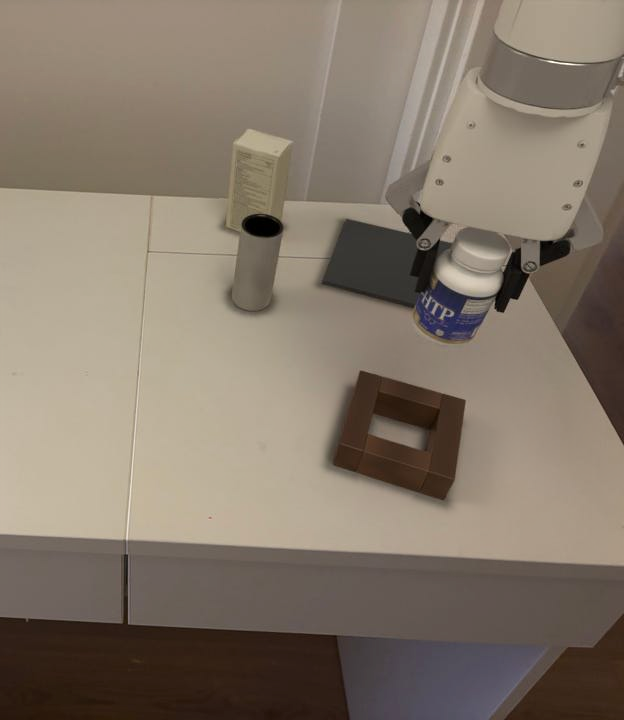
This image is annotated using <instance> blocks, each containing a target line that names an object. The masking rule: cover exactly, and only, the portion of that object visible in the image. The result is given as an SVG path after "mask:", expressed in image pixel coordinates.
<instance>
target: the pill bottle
mask: <svg viewBox="0 0 624 720" xmlns="http://www.w3.org/2000/svg"><path fill="white" fill-rule="evenodd" d="M451 243H452V246H451V247H450V249H448V250H445V251H444V252H442V253H441V254H440V255H439V256H438V257H437V258H436V260H435V262H434V265H433V268H432V271H431V274H430V277H429V280H428V283H427V286H426V288H425V291H424V292H421V294H420V296H419V298H418V301H417V303H416V305H415V308H413V310H412V312H411V318H410V319H411V324H412V326H413V328H414V330H415V331H416V332H417V334H419V335H420V337H422V338H423V339H425V340H427V341H428V342H430V343H432V344H434V345H437V346H440V347H443V348H444V347H445V348H460V347H464V346H466V345H468V344H470V343H471V342H472V341H473V340H474V338H475V337H476V335H477V334H478V331H479V329H480V328H481V325H482V324H483V322H484V320H485V319H486V316H487V315H488V313H489V311H490V309H491V308H492V305H493V304H494V303H495V298H496V296H497V294H498V293H499V291H500V289H501V287H502V284H503V281H504V274H503V272H504V270H503V269H502V268H503V266H504V265H505V263H506V262H507V259H508V257H509V255H510V254H511V247H510V244H509V242H508V241H507V239H505V237H503V236H502V234H500V233H496V232H491V231H486V230H481V229H476V228H472V227H467V226H465V227H463V228H462V229H460V230H458V232H457V233H456V235H455V237H454V238H453V241H452V242H451Z"/></svg>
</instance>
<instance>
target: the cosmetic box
mask: <svg viewBox="0 0 624 720" xmlns="http://www.w3.org/2000/svg"><path fill="white" fill-rule="evenodd" d="M293 145H294V141H293V140H290V139H287V138H283V137H280V136H276V135H274V134H269V133H267V132H266V133H265V132H263V131H258V130H254V129H251V128H247V129H246V130H245V131H243V133H242V134H240V135H239V136H238V137H237V138H236V139H235V140H234V141H232V150H231V163H230V172H229V173H230V175H229V187H228V199H227V209H226V222H225V223H226V224H225V227H226V228H228V229H230V230H233V231H236V232H239V233H240V229H241V222H242V220H243V219H244V218H245V217H247V216H249V215H252V214H268V215H271V216H274V217H276V218H277V219H279V220H280V221H281V222H282V220H283V214H284V207H285V199H286V193H287V185H288V180H289V173H290V167H291V166H290V165H291V159H292V151H293Z"/></svg>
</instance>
